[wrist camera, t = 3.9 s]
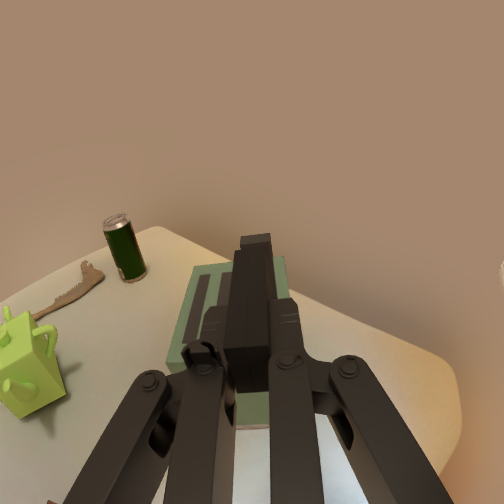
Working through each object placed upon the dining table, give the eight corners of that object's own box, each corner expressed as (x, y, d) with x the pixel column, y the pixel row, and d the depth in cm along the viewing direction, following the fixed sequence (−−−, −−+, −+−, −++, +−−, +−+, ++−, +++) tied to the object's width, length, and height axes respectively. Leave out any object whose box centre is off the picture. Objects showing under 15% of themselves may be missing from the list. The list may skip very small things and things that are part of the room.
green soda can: (132, 286, 53) (110, 227, 47) (117, 279, 55) (96, 224, 50) (152, 271, 56) (134, 213, 50) (136, 265, 59) (118, 211, 53)
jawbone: (115, 271, 59) (113, 262, 58) (55, 337, 43) (50, 328, 42) (87, 266, 62) (84, 258, 61) (29, 324, 45) (24, 316, 44)
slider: (282, 313, 25) (272, 228, 21) (284, 333, 23) (274, 244, 19) (253, 316, 25) (238, 232, 21) (253, 336, 23) (236, 249, 19)
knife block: (292, 327, 39) (285, 254, 33) (302, 424, 26) (300, 356, 21) (213, 334, 39) (192, 265, 34) (199, 429, 27) (162, 364, 22)
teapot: (54, 439, 25) (-1, 384, 20) (-4, 418, 26) (-50, 367, 21) (91, 353, 38) (57, 295, 33) (33, 349, 39) (1, 298, 34)
